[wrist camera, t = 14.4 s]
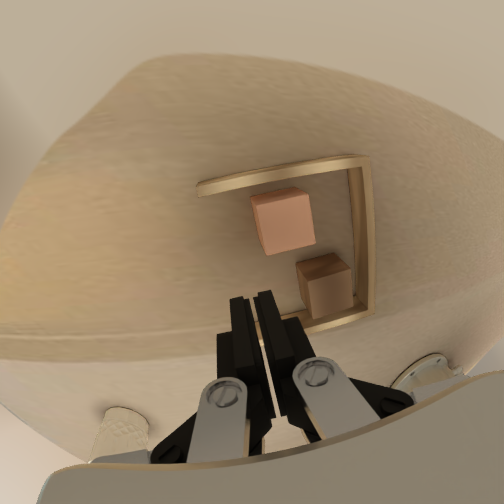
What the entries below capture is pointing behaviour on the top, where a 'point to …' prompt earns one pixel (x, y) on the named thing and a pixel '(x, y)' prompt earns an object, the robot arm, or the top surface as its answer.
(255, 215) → the terracotta block
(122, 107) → the top surface
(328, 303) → the walnut block
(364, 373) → the top surface
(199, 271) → the top surface
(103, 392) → the top surface
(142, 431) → the white cup
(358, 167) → the tan u-shaped piece
